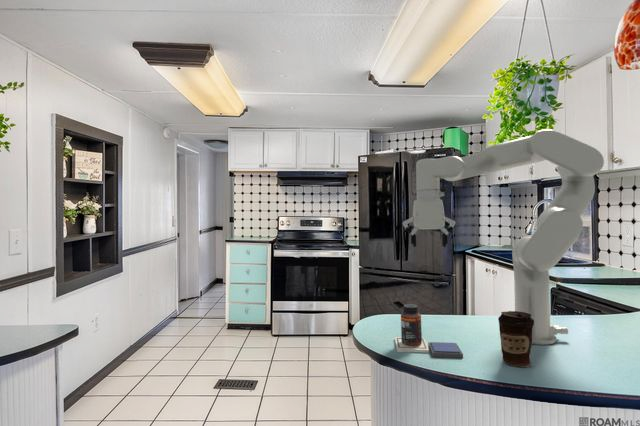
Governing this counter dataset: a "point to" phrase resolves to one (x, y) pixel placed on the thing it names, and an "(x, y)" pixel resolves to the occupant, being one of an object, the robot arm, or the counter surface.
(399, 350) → the board
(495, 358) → the counter surface
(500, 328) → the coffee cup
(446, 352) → the ink pad
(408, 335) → the supplement bottle
